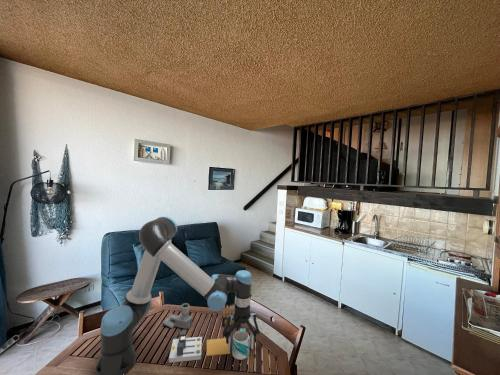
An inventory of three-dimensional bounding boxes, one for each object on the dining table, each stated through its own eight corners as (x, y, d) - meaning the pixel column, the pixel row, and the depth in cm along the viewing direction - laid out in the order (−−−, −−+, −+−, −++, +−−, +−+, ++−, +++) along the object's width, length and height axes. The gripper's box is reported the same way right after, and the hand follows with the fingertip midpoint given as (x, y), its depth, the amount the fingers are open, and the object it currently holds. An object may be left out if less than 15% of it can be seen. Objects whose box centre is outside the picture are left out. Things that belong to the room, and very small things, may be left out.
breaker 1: (179, 342, 109) (179, 334, 109) (179, 339, 112) (179, 331, 111) (184, 342, 110) (184, 334, 109) (185, 338, 112) (185, 330, 112)
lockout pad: (206, 356, 104) (206, 355, 104) (206, 340, 114) (206, 339, 114) (230, 353, 106) (230, 352, 106) (228, 338, 116) (228, 337, 116)
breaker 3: (176, 355, 101) (176, 347, 101) (177, 351, 104) (177, 342, 104) (182, 355, 102) (182, 346, 101) (183, 350, 104) (183, 342, 104)
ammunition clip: (240, 325, 127) (241, 304, 127) (240, 327, 125) (241, 306, 125) (222, 324, 128) (222, 303, 127) (221, 326, 126) (222, 305, 125)
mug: (230, 358, 104) (231, 340, 103) (234, 339, 116) (235, 324, 115) (248, 360, 103) (248, 342, 103) (250, 341, 115) (251, 325, 115)
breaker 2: (179, 348, 105) (179, 340, 105) (180, 344, 108) (180, 336, 108) (185, 348, 106) (185, 339, 106) (185, 344, 108) (186, 335, 108)
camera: (186, 310, 119) (162, 306, 123) (186, 332, 120) (161, 327, 124) (194, 302, 128) (171, 298, 132) (194, 322, 128) (171, 317, 132)
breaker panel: (168, 362, 100) (169, 357, 100) (173, 343, 112) (173, 338, 112) (200, 359, 103) (201, 354, 102) (201, 340, 114) (201, 336, 114)
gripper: (218, 309, 103) (216, 356, 104) (267, 306, 107) (265, 351, 108) (218, 300, 110) (216, 344, 111) (263, 298, 114) (261, 340, 115)
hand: (240, 348), depth 109 cm, fingers open, 11 cm apart
